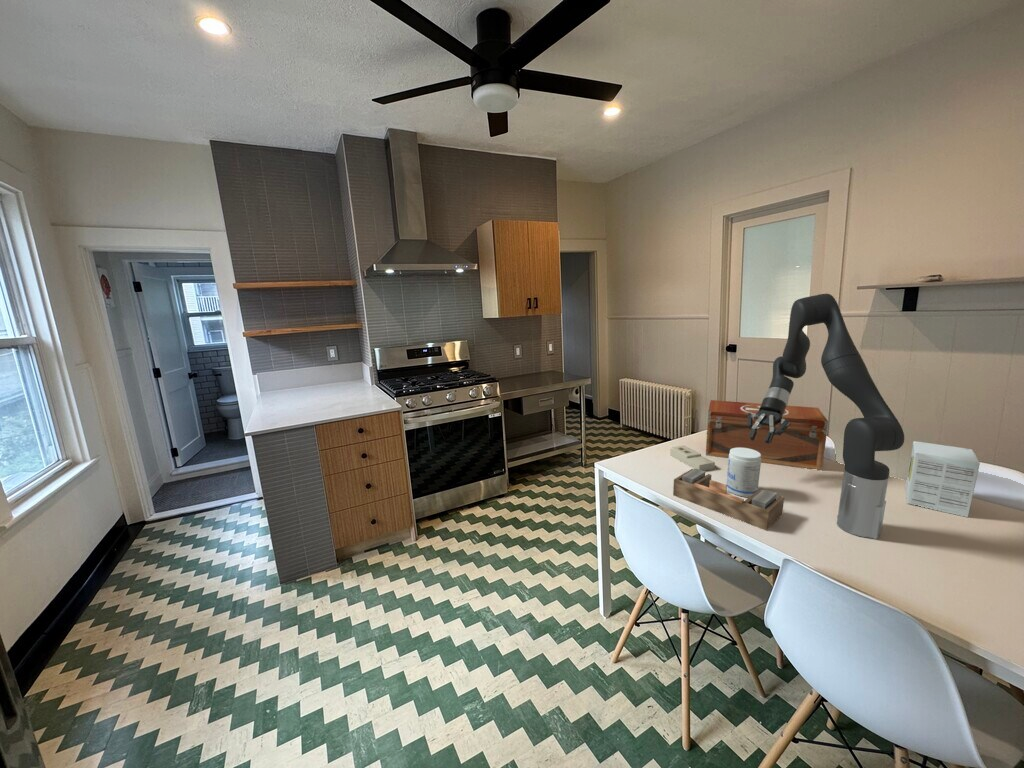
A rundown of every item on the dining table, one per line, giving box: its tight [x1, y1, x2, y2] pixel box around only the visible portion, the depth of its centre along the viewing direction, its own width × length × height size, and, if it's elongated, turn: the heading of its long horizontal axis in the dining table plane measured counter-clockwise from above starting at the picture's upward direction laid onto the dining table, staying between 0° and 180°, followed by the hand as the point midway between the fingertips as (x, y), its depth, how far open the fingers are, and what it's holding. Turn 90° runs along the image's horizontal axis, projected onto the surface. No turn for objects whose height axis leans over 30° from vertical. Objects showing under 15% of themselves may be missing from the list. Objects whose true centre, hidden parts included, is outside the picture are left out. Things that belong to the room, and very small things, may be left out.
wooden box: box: [705, 399, 829, 471], centre depth 164 cm, size 20×41×20 cm, turn 60°
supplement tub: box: [725, 448, 762, 498], centre depth 134 cm, size 10×10×15 cm
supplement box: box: [905, 440, 981, 518], centre depth 121 cm, size 13×13×18 cm
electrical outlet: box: [669, 445, 716, 472], centre depth 161 cm, size 7×4×18 cm
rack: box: [672, 468, 785, 531], centre depth 127 cm, size 29×13×10 cm, turn 38°
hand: (759, 440), depth 140 cm, fingers open, 4 cm apart
